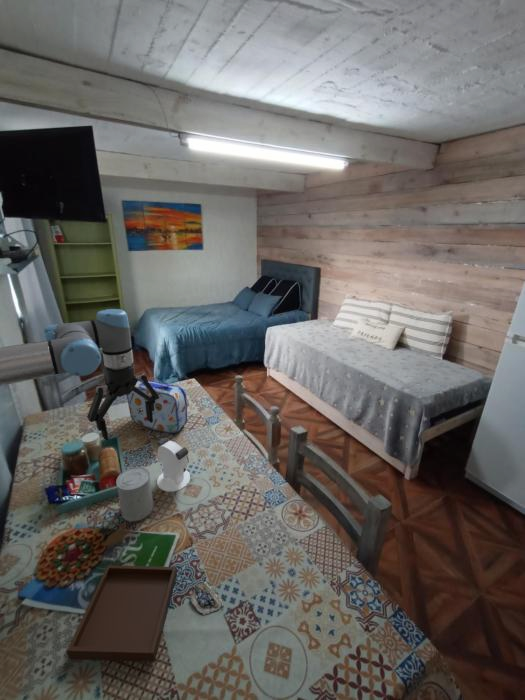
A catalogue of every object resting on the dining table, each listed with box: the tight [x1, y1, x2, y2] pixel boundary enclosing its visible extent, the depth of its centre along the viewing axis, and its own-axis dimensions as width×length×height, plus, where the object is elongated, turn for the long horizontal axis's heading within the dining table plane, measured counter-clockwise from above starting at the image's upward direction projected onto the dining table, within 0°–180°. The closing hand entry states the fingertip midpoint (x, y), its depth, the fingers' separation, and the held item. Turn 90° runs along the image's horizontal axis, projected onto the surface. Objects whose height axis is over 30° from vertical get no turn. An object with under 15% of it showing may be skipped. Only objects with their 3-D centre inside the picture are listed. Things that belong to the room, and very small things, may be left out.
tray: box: [66, 564, 178, 663], centre depth 73 cm, size 18×18×3 cm
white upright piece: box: [156, 436, 191, 493], centre depth 110 cm, size 12×11×15 cm
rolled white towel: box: [115, 466, 154, 522], centre depth 98 cm, size 10×10×12 cm
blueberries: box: [189, 581, 223, 616], centre depth 76 cm, size 7×8×2 cm
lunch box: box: [126, 379, 190, 434], centre depth 139 cm, size 28×10×22 cm, turn 73°
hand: (128, 429), depth 96 cm, fingers open, 13 cm apart
